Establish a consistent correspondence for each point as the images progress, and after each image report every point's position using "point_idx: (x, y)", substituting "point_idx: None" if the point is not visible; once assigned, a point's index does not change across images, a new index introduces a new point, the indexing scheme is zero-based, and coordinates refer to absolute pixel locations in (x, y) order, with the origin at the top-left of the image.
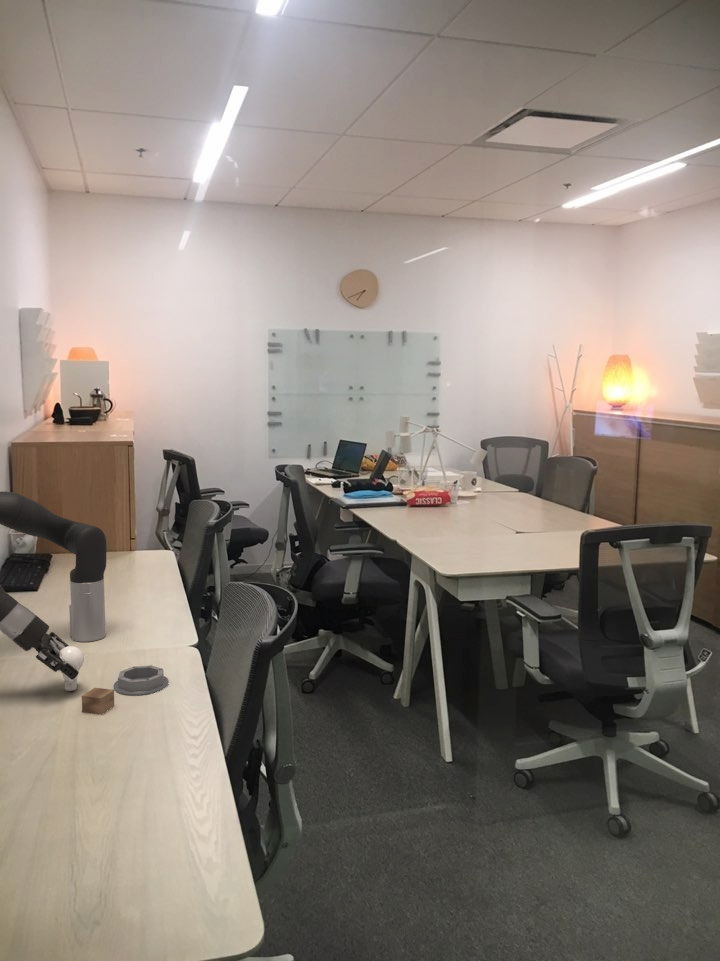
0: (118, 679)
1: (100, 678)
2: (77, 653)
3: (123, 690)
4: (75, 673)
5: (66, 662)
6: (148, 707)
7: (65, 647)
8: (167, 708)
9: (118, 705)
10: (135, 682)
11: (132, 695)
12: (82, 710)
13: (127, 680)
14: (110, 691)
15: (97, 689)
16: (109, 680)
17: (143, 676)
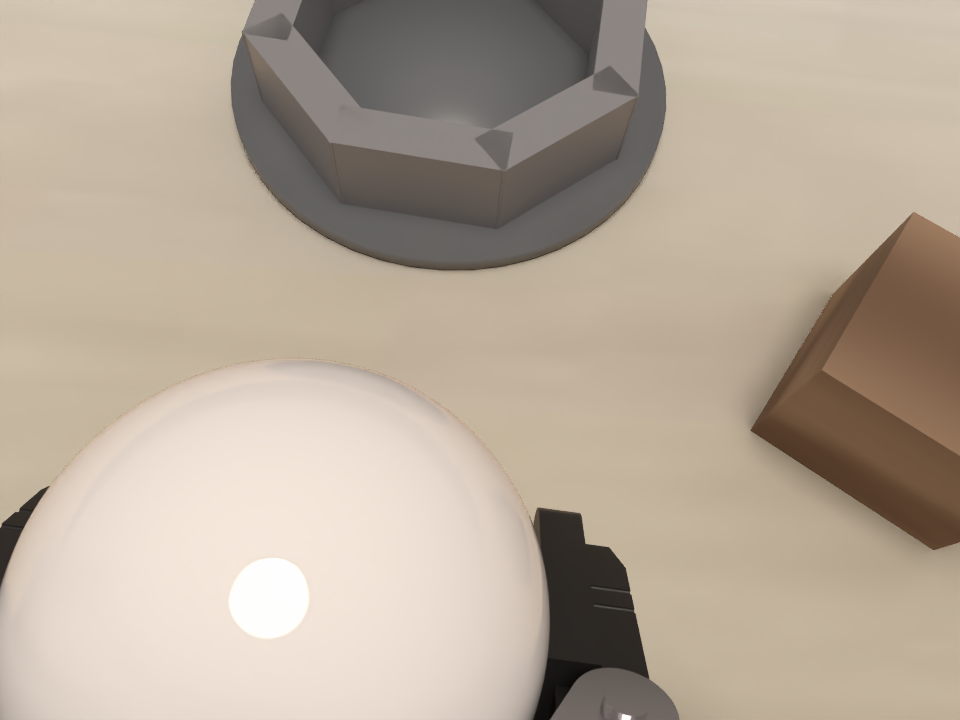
0: (508, 176)
1: (128, 355)
2: (440, 432)
3: (566, 199)
4: (606, 550)
5: (602, 675)
6: (894, 96)
7: (205, 686)
8: (925, 8)
9: (826, 265)
10: (637, 66)
11: (651, 159)
12: (948, 542)
13: (594, 109)
14: (952, 241)
15: (883, 348)
16: (225, 286)
17: (321, 43)
